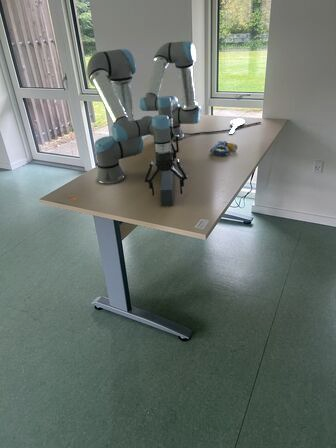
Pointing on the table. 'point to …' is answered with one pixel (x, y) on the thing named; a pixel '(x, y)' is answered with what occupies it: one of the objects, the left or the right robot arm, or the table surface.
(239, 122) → the spoon
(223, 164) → the table surface
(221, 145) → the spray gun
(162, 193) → the bar
